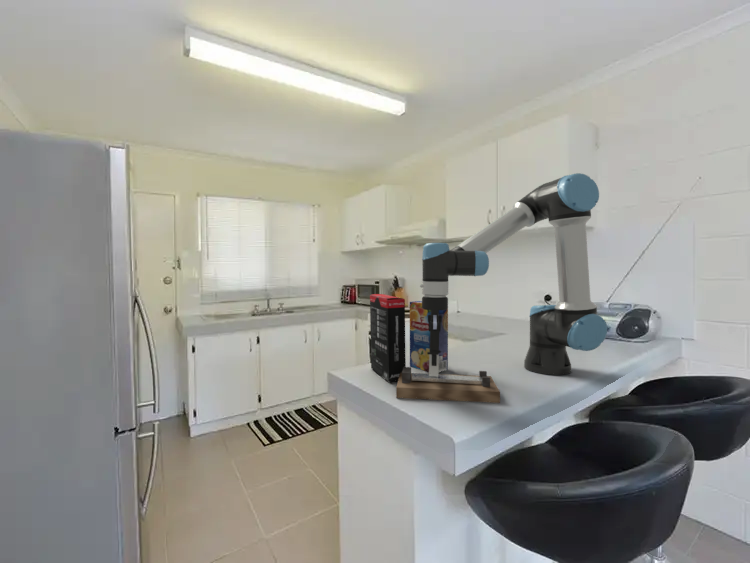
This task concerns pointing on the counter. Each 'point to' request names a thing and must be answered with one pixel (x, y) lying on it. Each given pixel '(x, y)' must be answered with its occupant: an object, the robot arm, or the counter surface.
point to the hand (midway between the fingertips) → (433, 375)
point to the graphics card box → (387, 335)
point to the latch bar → (447, 378)
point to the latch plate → (447, 389)
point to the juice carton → (426, 338)
